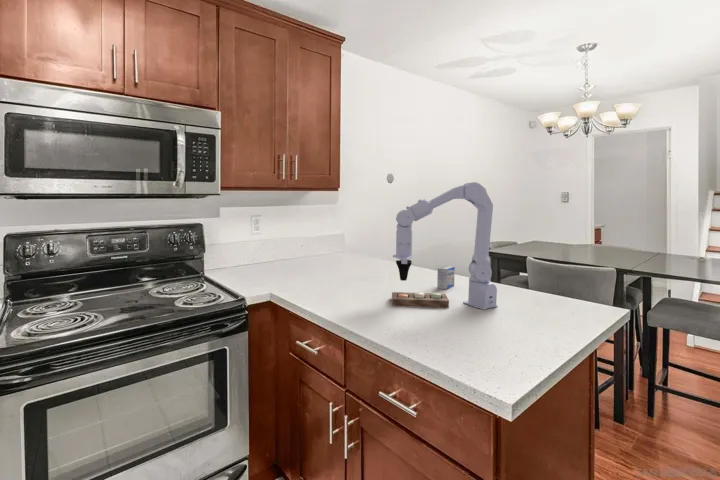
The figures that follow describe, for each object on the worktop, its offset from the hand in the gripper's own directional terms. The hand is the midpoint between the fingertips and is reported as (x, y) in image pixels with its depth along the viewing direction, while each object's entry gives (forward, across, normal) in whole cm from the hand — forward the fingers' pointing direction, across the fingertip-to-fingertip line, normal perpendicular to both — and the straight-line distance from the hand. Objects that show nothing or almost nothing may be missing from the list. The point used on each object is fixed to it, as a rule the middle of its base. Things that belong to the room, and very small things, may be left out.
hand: (403, 280), depth 144 cm
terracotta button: (+9, 0, 0) cm, 9 cm away
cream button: (+8, 0, +6) cm, 10 cm away
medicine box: (+9, -26, +19) cm, 33 cm away
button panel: (+8, 0, +6) cm, 10 cm away
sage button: (+8, 0, +12) cm, 15 cm away
